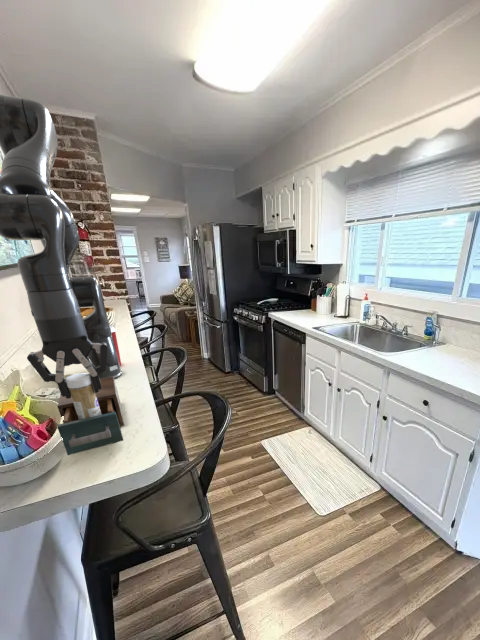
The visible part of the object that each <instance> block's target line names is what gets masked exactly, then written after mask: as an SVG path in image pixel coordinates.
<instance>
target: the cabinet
mask: <svg viewBox="0 0 480 640" xmlns="http://www.w3.org/2000/svg"><path fill="white" fill-rule="evenodd" d="M100 382H101V389H100V390H99V392H98V393H95V395H96V398H97V401H100V400H104V399H109V398H112V402H113V406H114V409H115V412H116V415H117V418H118V422H119V426H120V427H123V426H125V421H124V413H123V408H122V403H121V399H120V395H119V391H118V389H117V384H116V380H115V378H114V377H109V378H103V379H100ZM92 385H93V384H92ZM93 388H94V387H93ZM94 392H95V391H94ZM71 406H74V403H73V399H72V396H71V398H68V399H66V396H64V397H63V396H62V395H61V394H60V395H59V398H58V402H57V406H56V407H57V409H58V412H59V415H60V418H61V417H62V416H65V411H66V407H71Z"/></svg>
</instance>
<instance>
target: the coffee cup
mask: <svg viewBox="0 0 480 640" xmlns="http://www.w3.org/2000/svg"><path fill="white" fill-rule="evenodd" d="M110 329H111V333H112V337H113V341H114V345H115V348H116V352H117V356H118V360H119V364H120V367H122V361H121V360H122V359H121V355H120V349H119V344H118V339H117V329H116V328H115V327H114V326H113V325H110Z"/></svg>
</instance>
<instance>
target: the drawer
mask: <svg viewBox="0 0 480 640" xmlns="http://www.w3.org/2000/svg"><path fill="white" fill-rule="evenodd" d="M98 404H99V407H100V410H101V414H102V415H98V416H94V417H89V418H85V419H80V420H79V418H78V415H77V412H76V409H75V406H71V407H66V411H65V416H64V420H63V421H62V423H59V424H57V430H58V432H59V435H60V438H61V437H62V438H63V441H62V443H63V447H64V449H65V452H66V454H67V456H71V455H75V454H79V453H82V452H86V451H89V450H94V449H97V448H100V447H105V446H108V445H112V444H116V443H119V442H123V441H124V436H123V434H122V430H121V429H122V428H121V426H119V422H118V418H117V415H116V412H115V409H114V406H113V402H112V398H109V399H104V400H100V401H98ZM62 438H61V439H62Z"/></svg>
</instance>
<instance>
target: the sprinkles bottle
mask: <svg viewBox="0 0 480 640" xmlns="http://www.w3.org/2000/svg"><path fill="white" fill-rule="evenodd" d="M64 379H65V381H66V384H67V387H68V388H69V390H70V393H71V396H72V399H73V403H74V406H75V409H76V412H77V415H78V418H79V420H80V419H85V418H89V417H94V416H98V415H102V414H101V410H100V407H99V404H98V401H97V398H96V395H95V392H94V388H93V385H92V381H91V375H90V373H89V372H80V373H75V374H71V375H68V376H67V377H65V378H64Z"/></svg>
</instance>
